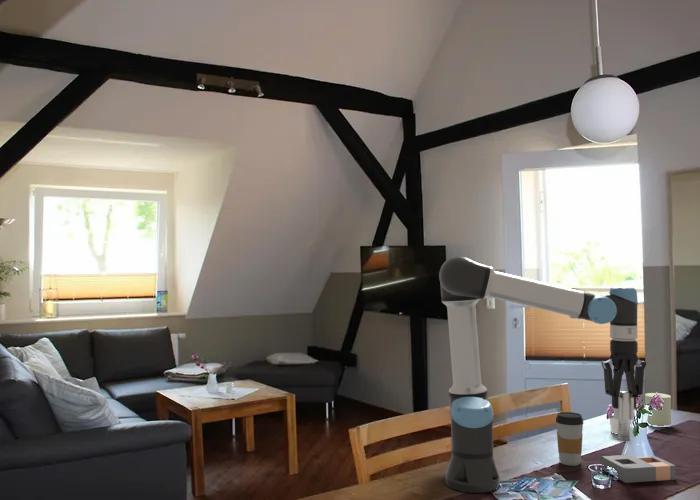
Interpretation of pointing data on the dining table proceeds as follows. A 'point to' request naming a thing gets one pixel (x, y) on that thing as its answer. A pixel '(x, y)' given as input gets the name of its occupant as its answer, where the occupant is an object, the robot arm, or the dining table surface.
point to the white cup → (615, 424)
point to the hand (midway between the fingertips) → (624, 418)
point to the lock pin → (624, 417)
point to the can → (660, 416)
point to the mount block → (640, 468)
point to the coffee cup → (569, 437)
